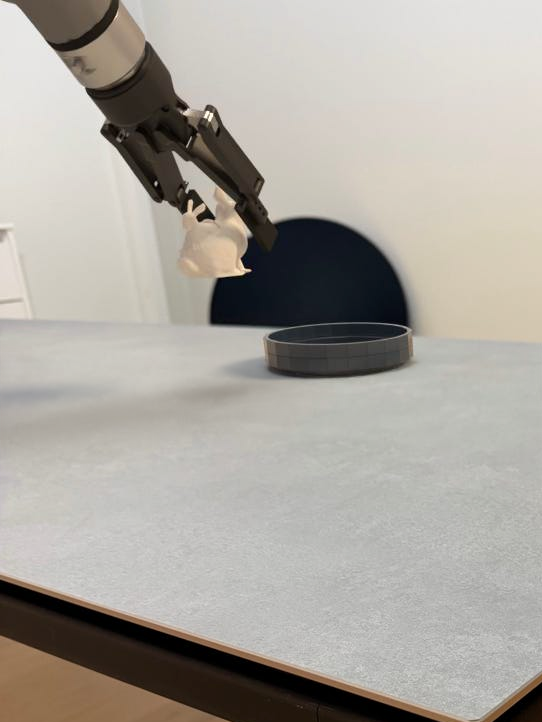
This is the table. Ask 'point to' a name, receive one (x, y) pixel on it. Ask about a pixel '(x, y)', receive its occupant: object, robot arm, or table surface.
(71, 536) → the table surface
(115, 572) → the table surface
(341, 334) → the bowl
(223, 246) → the rabbit figurine
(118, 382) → the table surface
